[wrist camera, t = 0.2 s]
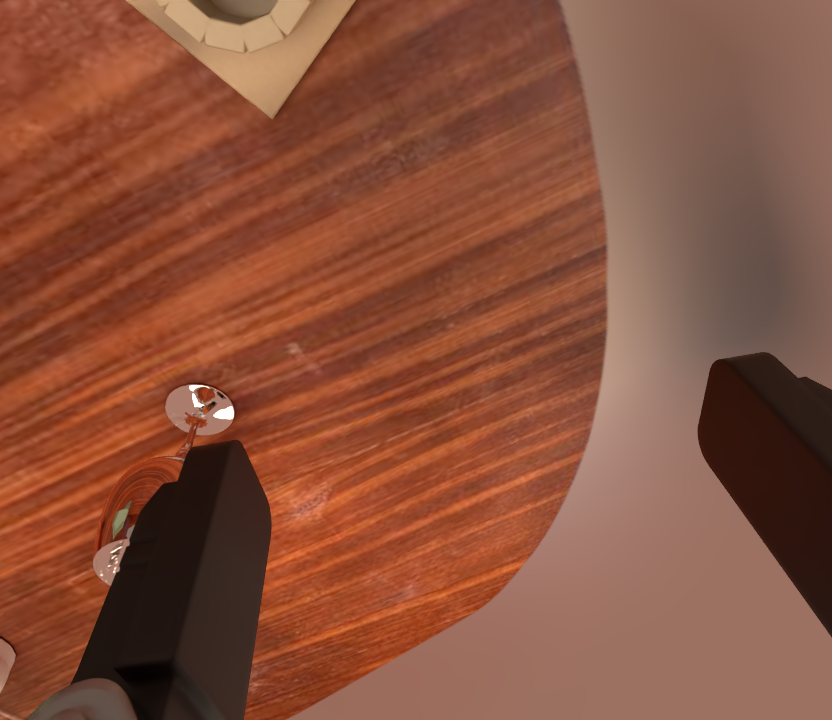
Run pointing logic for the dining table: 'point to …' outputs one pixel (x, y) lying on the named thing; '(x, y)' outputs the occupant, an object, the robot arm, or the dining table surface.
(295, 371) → the dining table surface
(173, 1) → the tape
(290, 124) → the dining table surface
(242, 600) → the robot arm
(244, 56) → the peg stand
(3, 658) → the bottle
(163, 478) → the wineglass
